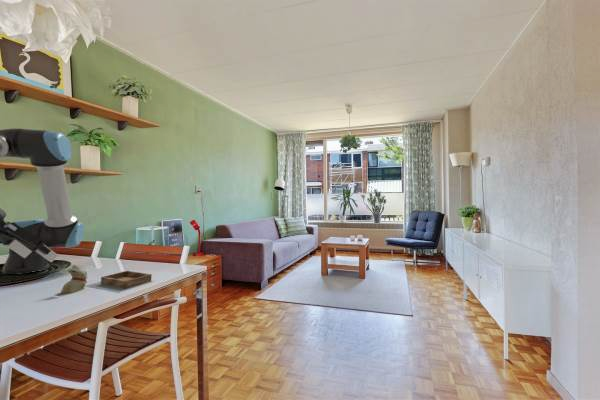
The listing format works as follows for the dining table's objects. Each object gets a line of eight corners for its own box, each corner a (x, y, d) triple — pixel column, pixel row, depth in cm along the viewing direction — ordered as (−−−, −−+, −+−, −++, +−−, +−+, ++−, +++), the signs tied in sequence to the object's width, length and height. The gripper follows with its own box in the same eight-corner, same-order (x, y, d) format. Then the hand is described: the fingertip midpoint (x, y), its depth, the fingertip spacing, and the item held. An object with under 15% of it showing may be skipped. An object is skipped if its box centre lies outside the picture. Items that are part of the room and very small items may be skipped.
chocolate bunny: (88, 291, 107) (89, 264, 106) (60, 295, 101) (61, 267, 101) (86, 287, 111) (87, 261, 111) (59, 291, 105) (60, 264, 105)
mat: (84, 287, 111) (84, 286, 111) (122, 276, 126) (122, 276, 126) (118, 293, 105) (118, 292, 105) (153, 282, 120) (153, 281, 120)
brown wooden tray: (100, 284, 114) (101, 277, 114) (127, 277, 125) (127, 270, 125) (126, 288, 110) (126, 281, 110) (151, 281, 121) (151, 274, 121)
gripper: (-58, 220, 83) (7, 262, 97) (-7, 225, 75) (56, 270, 89) (-32, 201, 88) (27, 244, 102) (19, 205, 80) (75, 250, 94)
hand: (41, 256), depth 96 cm, fingers open, 13 cm apart
